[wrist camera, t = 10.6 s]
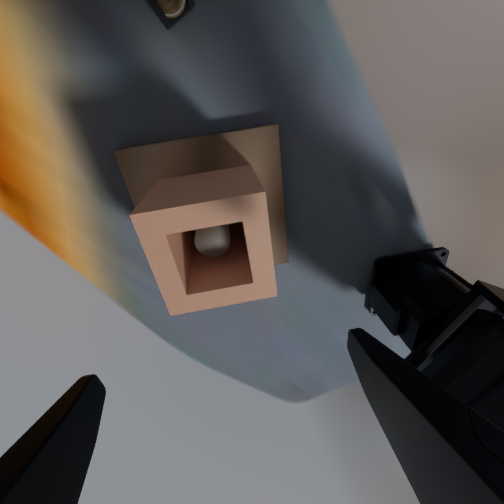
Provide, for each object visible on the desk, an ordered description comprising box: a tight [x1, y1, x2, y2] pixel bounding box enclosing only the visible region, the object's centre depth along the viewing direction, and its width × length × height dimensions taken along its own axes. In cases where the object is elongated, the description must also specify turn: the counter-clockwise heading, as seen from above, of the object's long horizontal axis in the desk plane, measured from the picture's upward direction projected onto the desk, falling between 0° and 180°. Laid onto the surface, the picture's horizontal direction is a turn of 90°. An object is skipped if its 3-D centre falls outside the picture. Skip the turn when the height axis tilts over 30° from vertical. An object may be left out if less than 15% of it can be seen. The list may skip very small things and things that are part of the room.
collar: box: [129, 165, 277, 316], centre depth 15 cm, size 6×6×6 cm
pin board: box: [113, 124, 289, 265], centre depth 17 cm, size 10×10×5 cm
